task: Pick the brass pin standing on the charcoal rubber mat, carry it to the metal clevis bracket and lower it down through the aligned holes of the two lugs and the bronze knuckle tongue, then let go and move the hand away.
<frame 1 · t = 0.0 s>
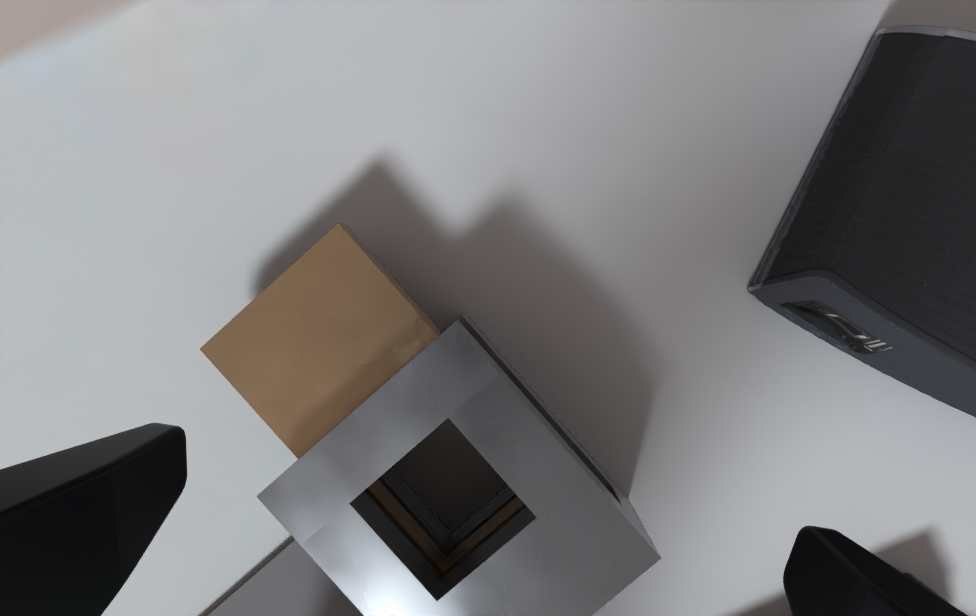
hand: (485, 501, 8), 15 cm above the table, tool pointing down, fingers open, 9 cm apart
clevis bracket: (455, 461, 24), on the table
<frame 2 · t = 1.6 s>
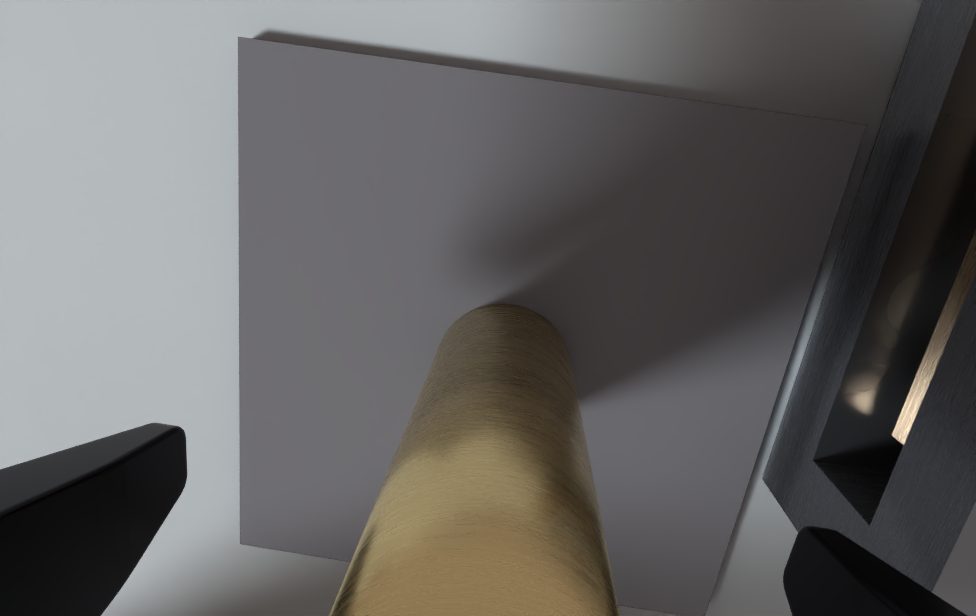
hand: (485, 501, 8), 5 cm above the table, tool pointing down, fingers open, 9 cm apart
rubber mat: (503, 360, 13), on the table
brass pin: (488, 514, 8), on the rubber mat
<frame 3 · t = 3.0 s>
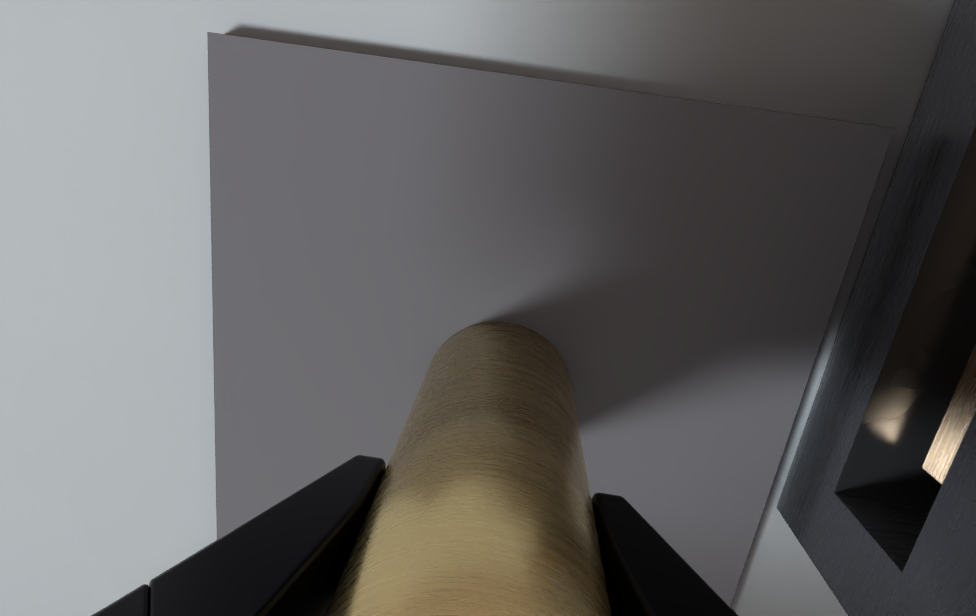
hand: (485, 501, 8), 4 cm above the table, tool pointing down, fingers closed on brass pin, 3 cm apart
rubber mat: (498, 381, 12), on the table
brass pin: (477, 571, 7), on the rubber mat, touching gripper
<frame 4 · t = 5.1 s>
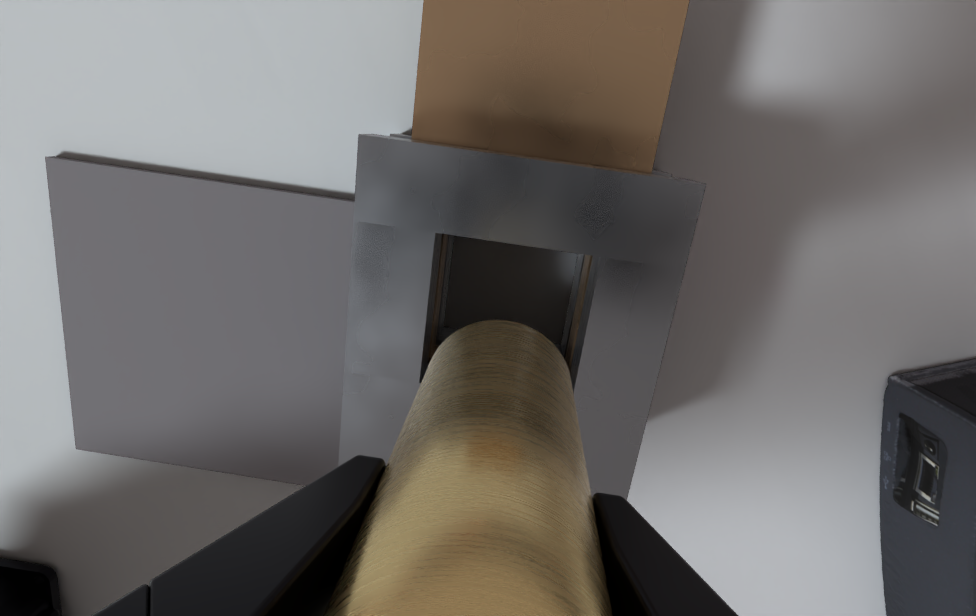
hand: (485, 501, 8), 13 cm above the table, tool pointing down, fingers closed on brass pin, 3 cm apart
rubber mat: (218, 334, 22), on the table
brass pin: (477, 570, 7), point 14 cm above the table, touching gripper
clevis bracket: (510, 278, 20), on the table
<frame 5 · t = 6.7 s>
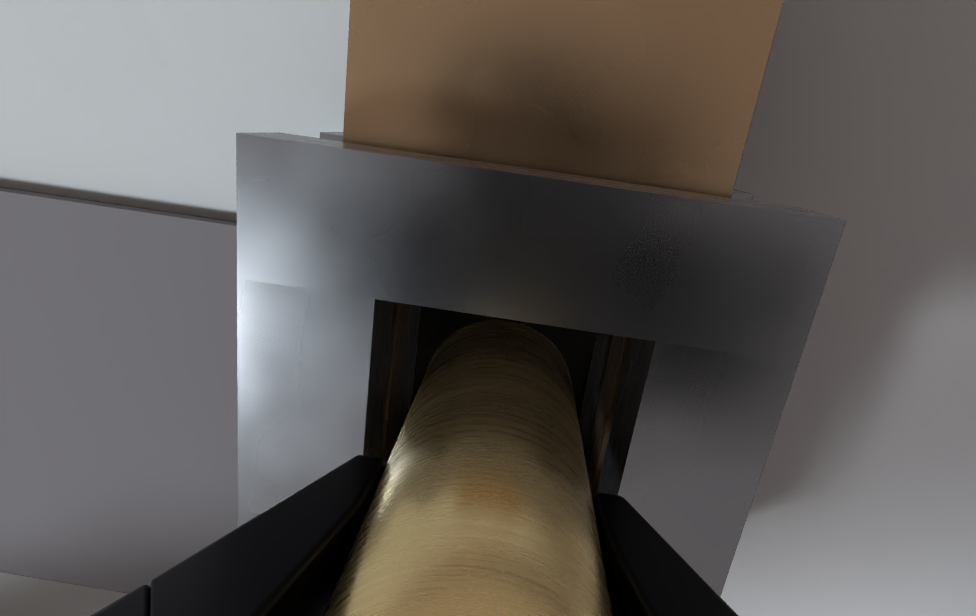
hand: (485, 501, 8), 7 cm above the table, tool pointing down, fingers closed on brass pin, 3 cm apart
rubber mat: (100, 411, 16), on the table
brass pin: (477, 570, 7), point 8 cm above the table, touching gripper
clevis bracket: (505, 339, 14), on the table
when the fingers open (6 cm above the table, at t = 7.7 s): brass pin drops 3 cm, resting in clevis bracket.
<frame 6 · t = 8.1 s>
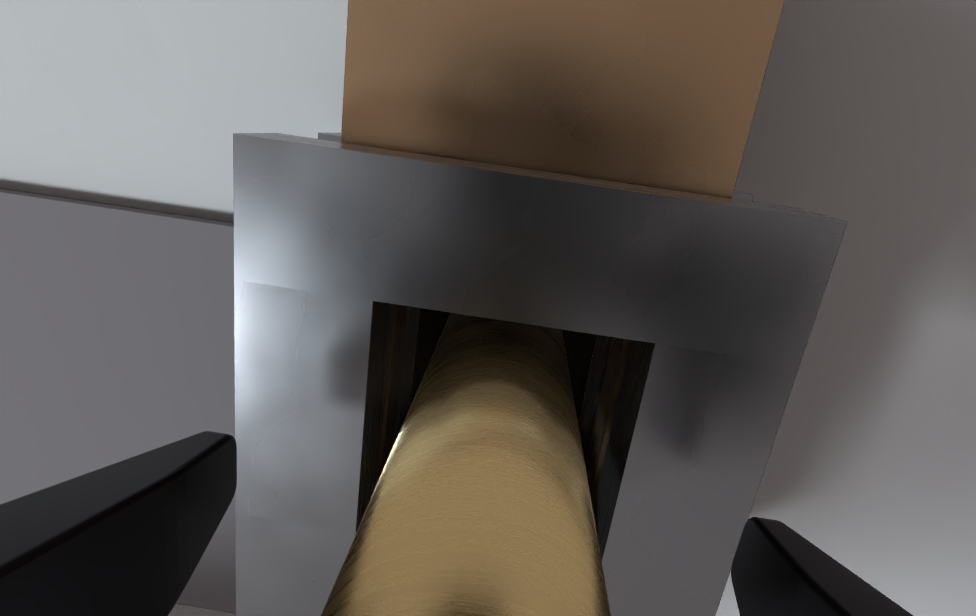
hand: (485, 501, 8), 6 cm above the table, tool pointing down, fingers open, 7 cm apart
rubber mat: (98, 413, 16), on the table
brass pin: (491, 442, 9), in the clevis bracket
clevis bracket: (505, 340, 14), on the table
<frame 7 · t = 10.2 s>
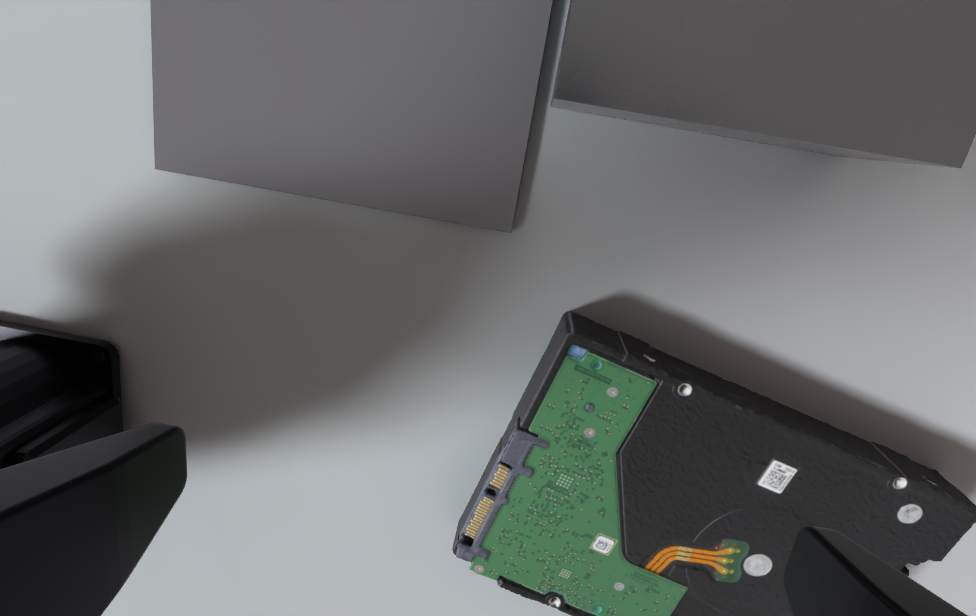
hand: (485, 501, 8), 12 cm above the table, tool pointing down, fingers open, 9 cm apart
rubber mat: (350, 0, 17), on the table
disk drive: (679, 490, 22), on the table
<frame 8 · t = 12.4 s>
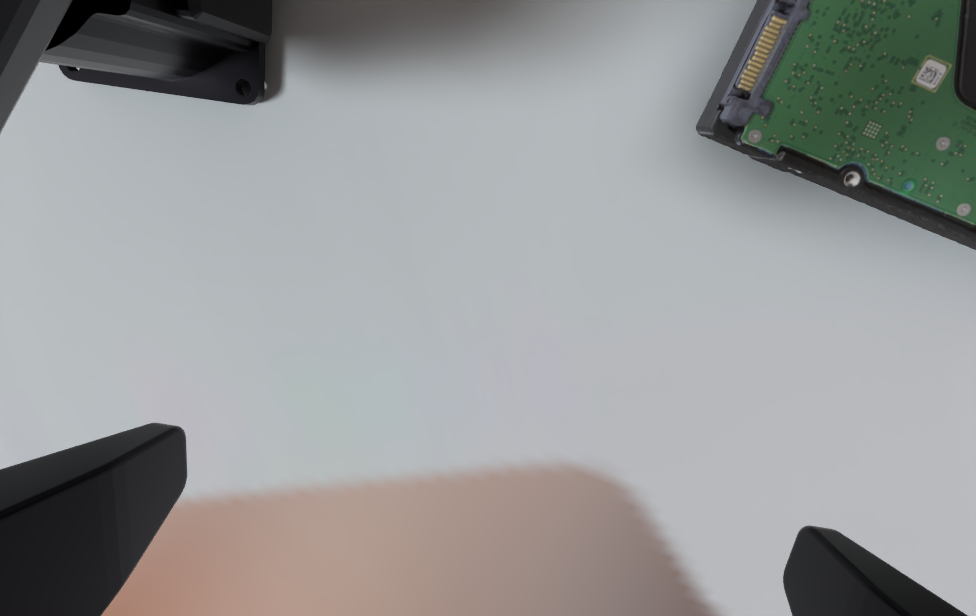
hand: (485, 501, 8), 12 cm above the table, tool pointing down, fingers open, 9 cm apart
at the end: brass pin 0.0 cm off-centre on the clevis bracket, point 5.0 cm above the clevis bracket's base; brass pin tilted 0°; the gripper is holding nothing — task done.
